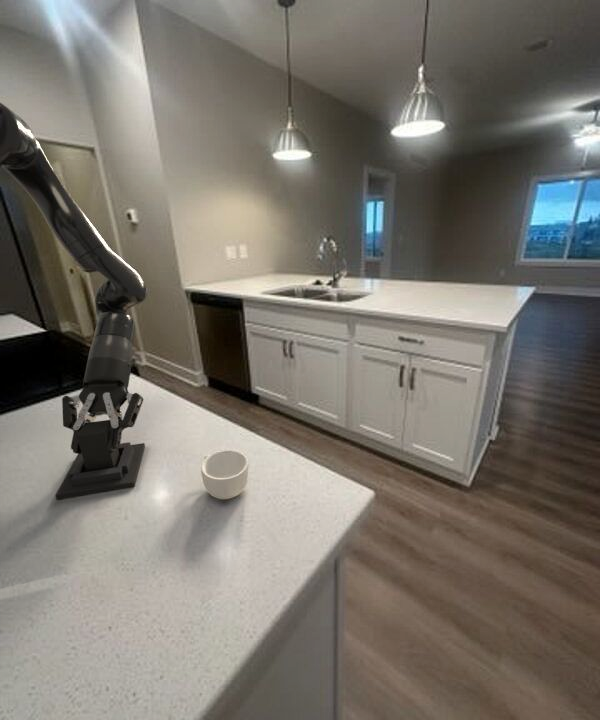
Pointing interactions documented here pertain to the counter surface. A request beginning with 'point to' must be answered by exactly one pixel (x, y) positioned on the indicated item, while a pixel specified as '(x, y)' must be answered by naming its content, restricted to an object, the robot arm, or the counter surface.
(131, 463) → the base pad
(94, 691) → the counter surface
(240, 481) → the teacup
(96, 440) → the dark grey rectangular block
